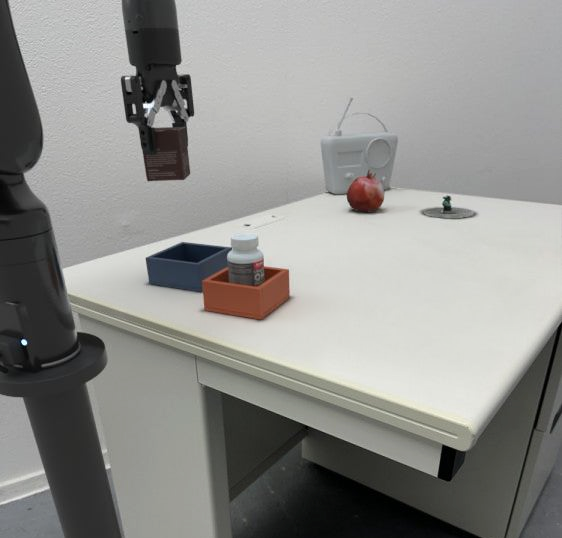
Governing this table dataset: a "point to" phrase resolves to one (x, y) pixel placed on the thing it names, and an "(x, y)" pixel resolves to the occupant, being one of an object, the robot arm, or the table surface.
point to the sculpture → (448, 210)
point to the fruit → (365, 193)
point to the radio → (357, 156)
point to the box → (168, 156)
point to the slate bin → (186, 265)
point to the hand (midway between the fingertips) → (166, 150)
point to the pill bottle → (245, 260)
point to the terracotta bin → (246, 294)
